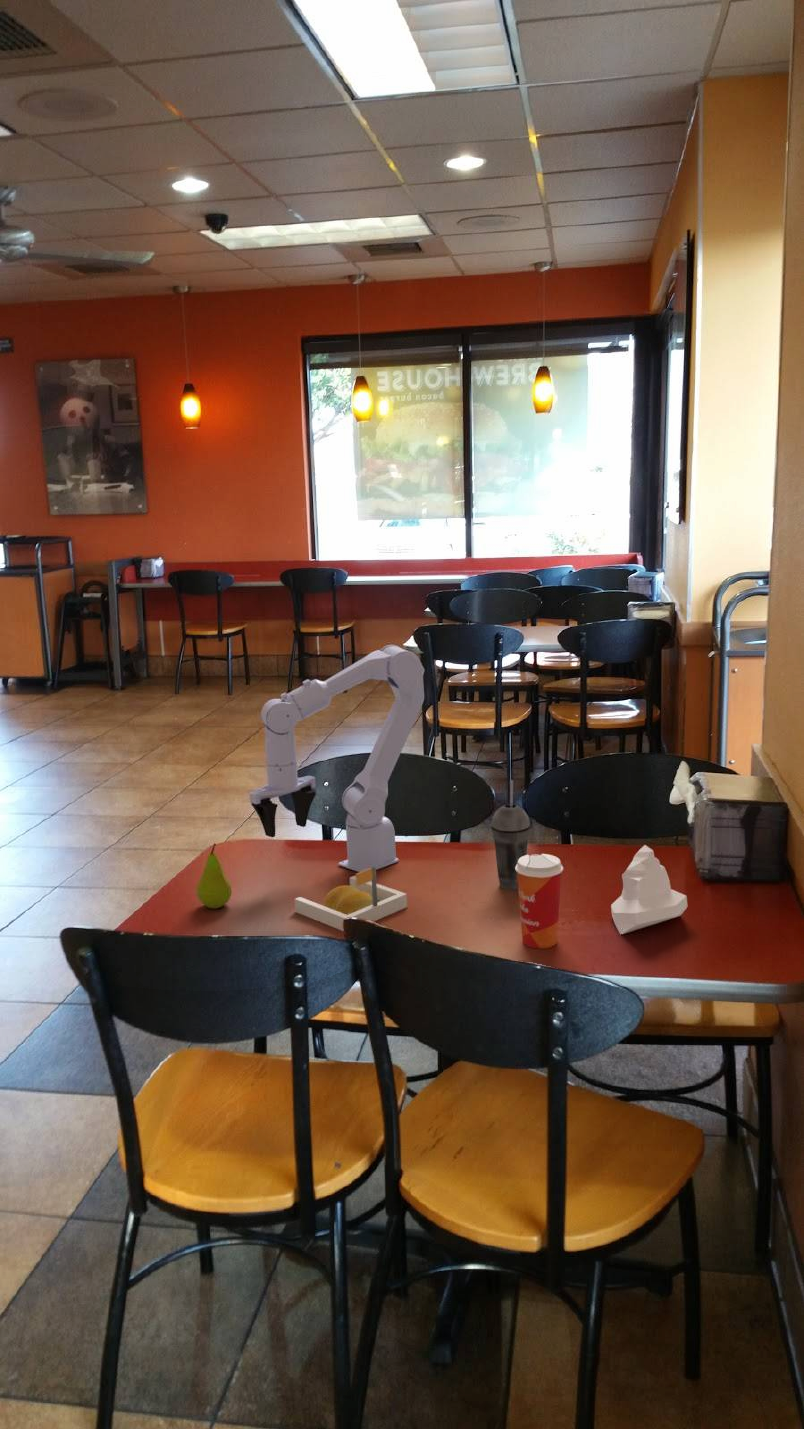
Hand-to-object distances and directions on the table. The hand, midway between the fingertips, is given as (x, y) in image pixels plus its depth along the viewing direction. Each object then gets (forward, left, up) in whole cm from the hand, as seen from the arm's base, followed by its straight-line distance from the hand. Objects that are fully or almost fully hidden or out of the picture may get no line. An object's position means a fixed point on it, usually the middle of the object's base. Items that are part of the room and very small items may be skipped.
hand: (286, 830), depth 205 cm
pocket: (+3, +21, -9) cm, 23 cm away
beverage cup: (-24, +36, -10) cm, 44 cm away
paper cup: (-8, +55, -10) cm, 56 cm away
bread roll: (+3, +21, -10) cm, 23 cm away
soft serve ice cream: (-25, +64, -10) cm, 69 cm away
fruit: (+18, +1, -10) cm, 20 cm away
